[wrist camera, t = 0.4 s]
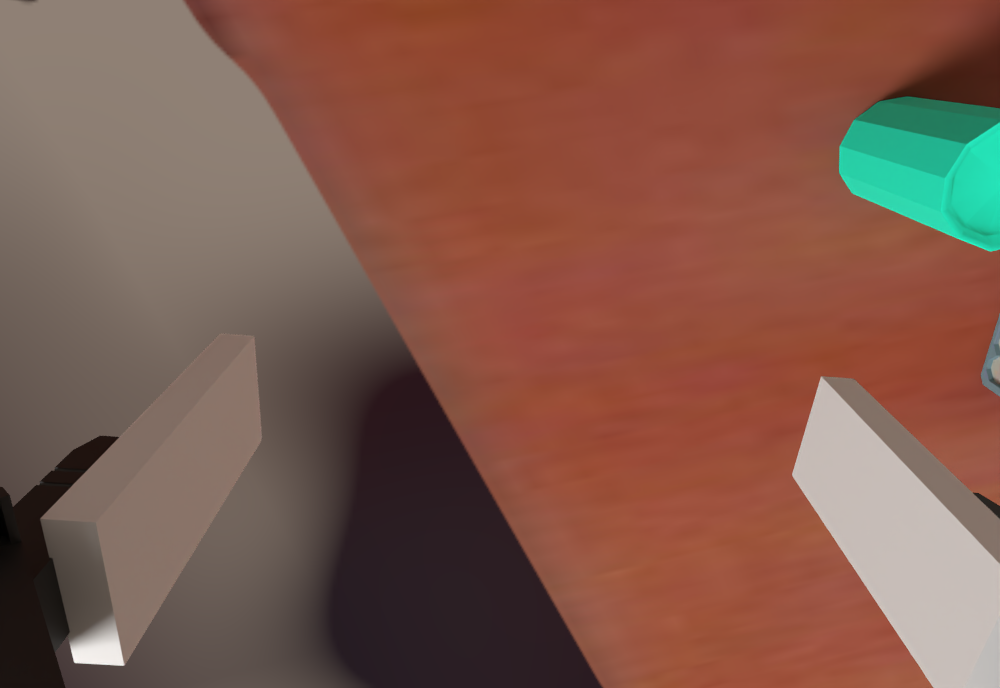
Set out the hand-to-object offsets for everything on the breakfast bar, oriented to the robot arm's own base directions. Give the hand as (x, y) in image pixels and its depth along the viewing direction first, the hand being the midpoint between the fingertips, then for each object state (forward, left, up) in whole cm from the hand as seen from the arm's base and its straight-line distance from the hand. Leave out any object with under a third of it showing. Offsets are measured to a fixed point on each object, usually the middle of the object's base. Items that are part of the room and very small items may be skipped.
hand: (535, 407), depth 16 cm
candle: (-3, +22, -27) cm, 35 cm away
